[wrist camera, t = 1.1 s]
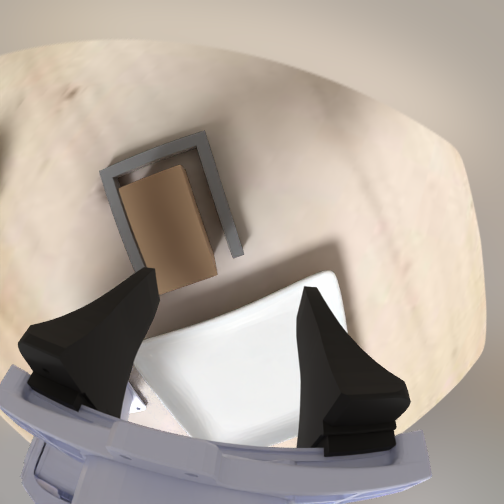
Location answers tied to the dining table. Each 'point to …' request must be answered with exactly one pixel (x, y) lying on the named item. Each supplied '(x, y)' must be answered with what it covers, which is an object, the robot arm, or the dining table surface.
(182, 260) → the tan cardboard box
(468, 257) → the dining table surface
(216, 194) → the bay
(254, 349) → the salad plate
